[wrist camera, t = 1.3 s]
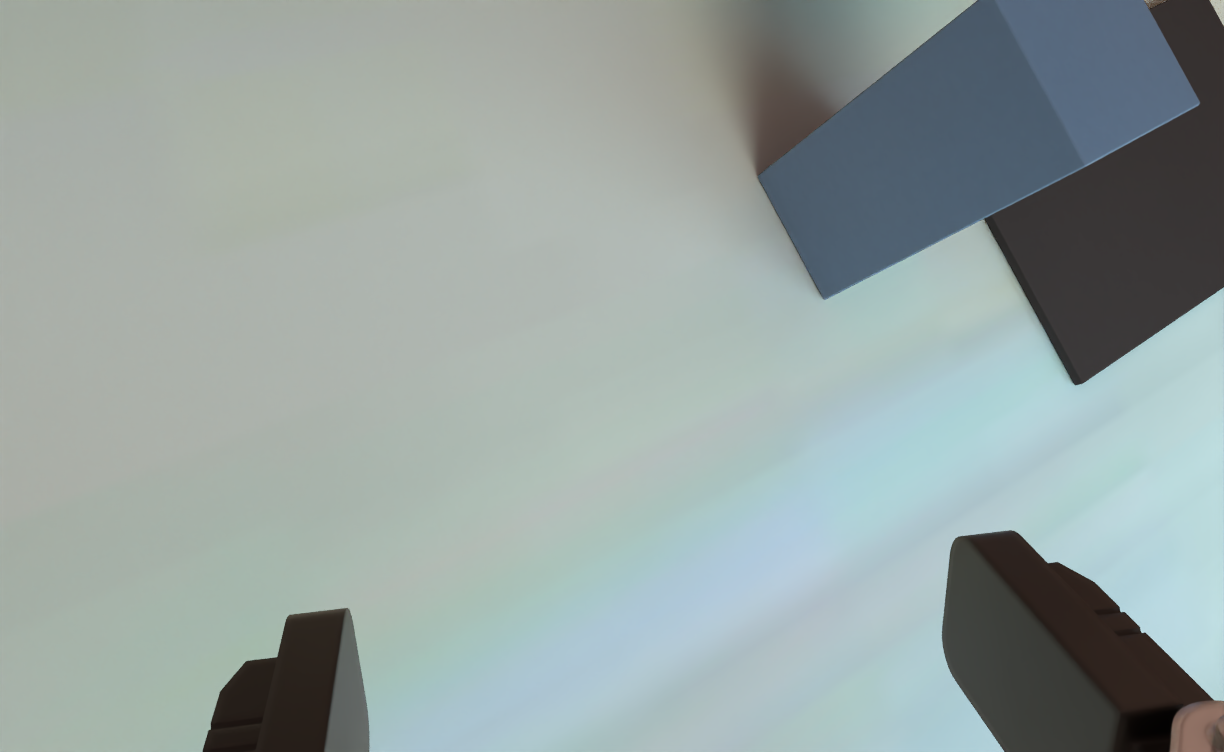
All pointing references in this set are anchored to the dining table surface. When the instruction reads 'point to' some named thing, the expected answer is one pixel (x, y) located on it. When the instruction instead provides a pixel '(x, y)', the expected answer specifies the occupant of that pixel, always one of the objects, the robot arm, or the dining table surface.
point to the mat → (1131, 219)
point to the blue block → (973, 129)
